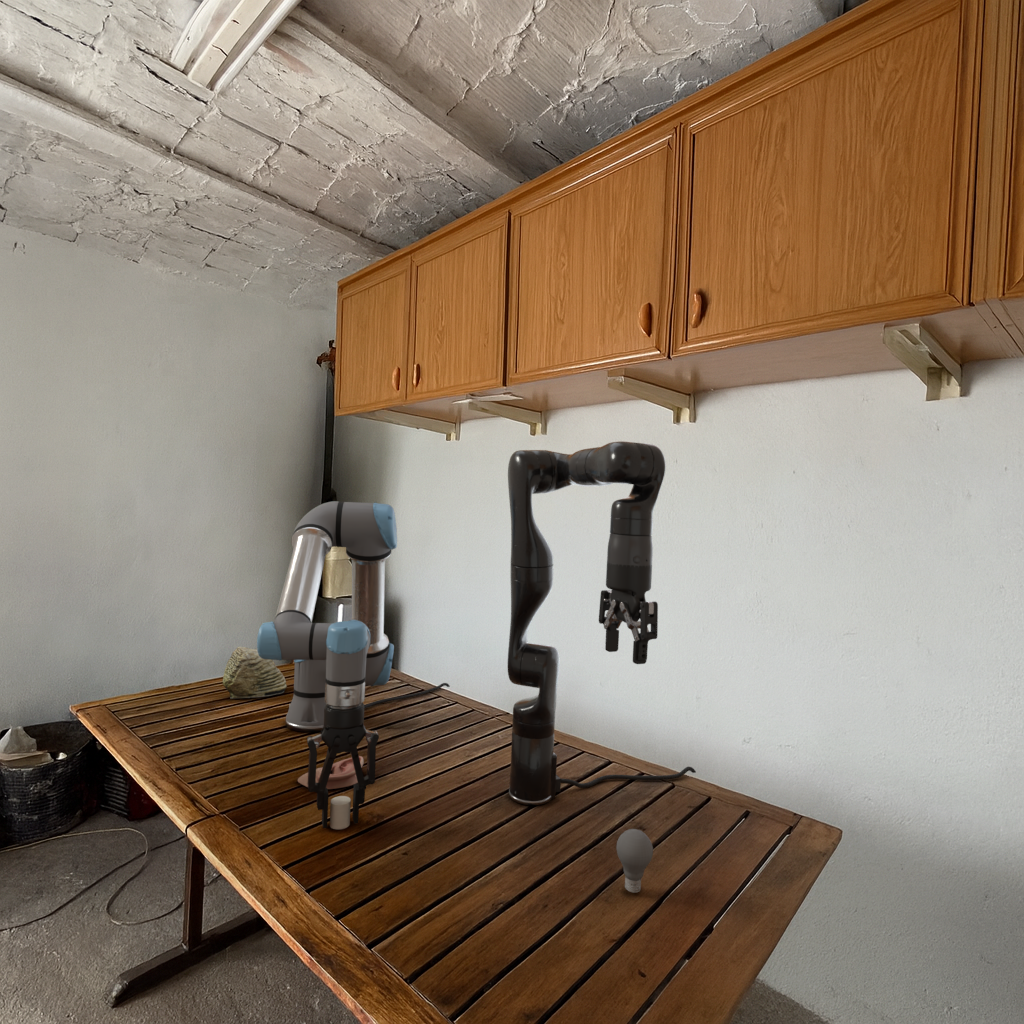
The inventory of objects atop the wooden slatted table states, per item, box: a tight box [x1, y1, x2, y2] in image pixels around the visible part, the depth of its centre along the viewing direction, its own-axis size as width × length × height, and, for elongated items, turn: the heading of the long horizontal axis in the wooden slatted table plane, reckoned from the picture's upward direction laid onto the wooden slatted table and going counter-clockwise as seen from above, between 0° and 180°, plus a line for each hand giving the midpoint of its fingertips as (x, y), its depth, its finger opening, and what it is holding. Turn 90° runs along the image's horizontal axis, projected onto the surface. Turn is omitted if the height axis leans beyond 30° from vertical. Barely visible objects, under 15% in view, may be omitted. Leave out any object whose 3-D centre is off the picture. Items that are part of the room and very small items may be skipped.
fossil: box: [222, 646, 288, 699], centre depth 198 cm, size 9×18×15 cm, turn 132°
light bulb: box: [615, 828, 654, 894], centre depth 106 cm, size 6×6×10 cm
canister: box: [329, 795, 352, 830], centre depth 123 cm, size 4×4×5 cm
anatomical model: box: [297, 755, 364, 790], centre depth 142 cm, size 13×4×12 cm
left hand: (340, 822), depth 123 cm, fingers open, 5 cm apart
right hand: (624, 657), depth 107 cm, fingers open, 8 cm apart
